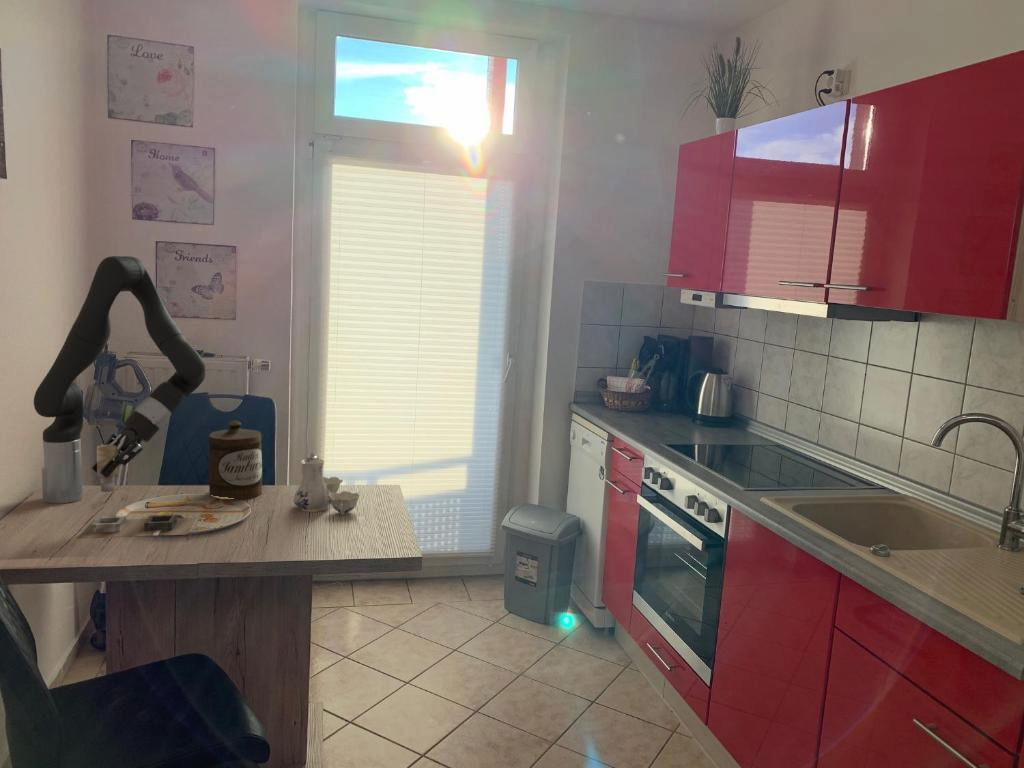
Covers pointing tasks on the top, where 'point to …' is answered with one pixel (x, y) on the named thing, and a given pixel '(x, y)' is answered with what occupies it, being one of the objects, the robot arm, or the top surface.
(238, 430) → the wooden container
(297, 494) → the chinaware
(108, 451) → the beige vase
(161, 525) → the subfloor board
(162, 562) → the top surface
